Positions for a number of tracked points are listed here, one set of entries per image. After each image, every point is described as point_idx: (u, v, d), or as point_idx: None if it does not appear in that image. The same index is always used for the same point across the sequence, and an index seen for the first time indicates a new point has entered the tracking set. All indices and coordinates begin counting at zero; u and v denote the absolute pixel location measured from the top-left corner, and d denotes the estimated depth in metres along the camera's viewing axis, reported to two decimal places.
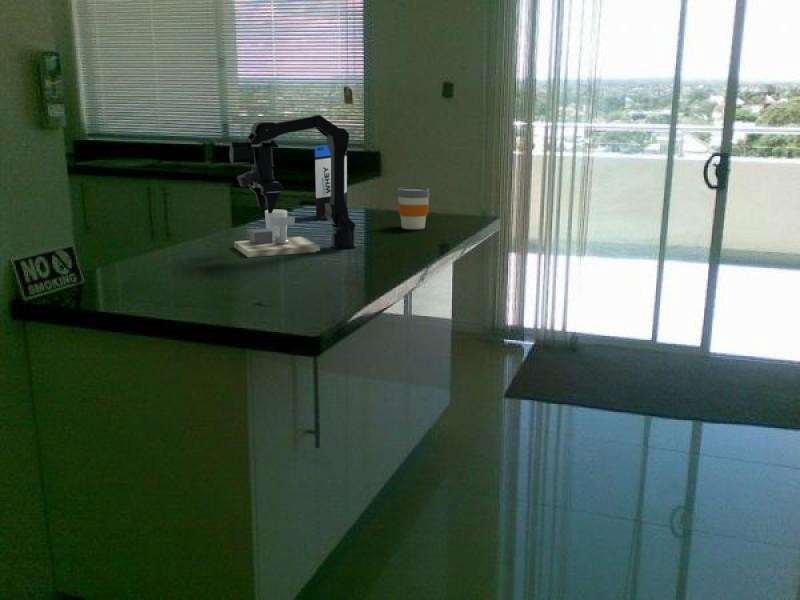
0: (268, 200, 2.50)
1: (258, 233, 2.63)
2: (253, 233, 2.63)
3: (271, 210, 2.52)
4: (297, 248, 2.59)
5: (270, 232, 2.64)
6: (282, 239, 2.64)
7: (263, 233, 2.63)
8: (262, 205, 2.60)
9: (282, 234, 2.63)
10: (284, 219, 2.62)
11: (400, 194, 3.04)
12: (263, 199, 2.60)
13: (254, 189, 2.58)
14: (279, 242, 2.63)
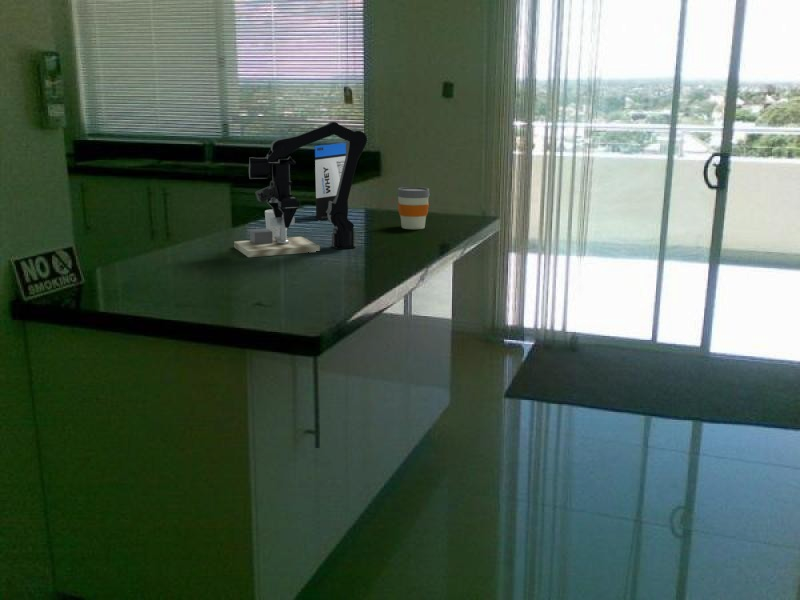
0: (285, 215, 2.57)
1: (258, 233, 2.63)
2: (253, 233, 2.63)
3: (288, 225, 2.59)
4: (297, 248, 2.59)
5: (270, 232, 2.64)
6: (282, 239, 2.64)
7: (263, 233, 2.63)
8: None
9: (282, 234, 2.63)
10: None
11: (400, 194, 3.04)
12: (280, 214, 2.67)
13: (271, 204, 2.65)
14: (279, 242, 2.63)
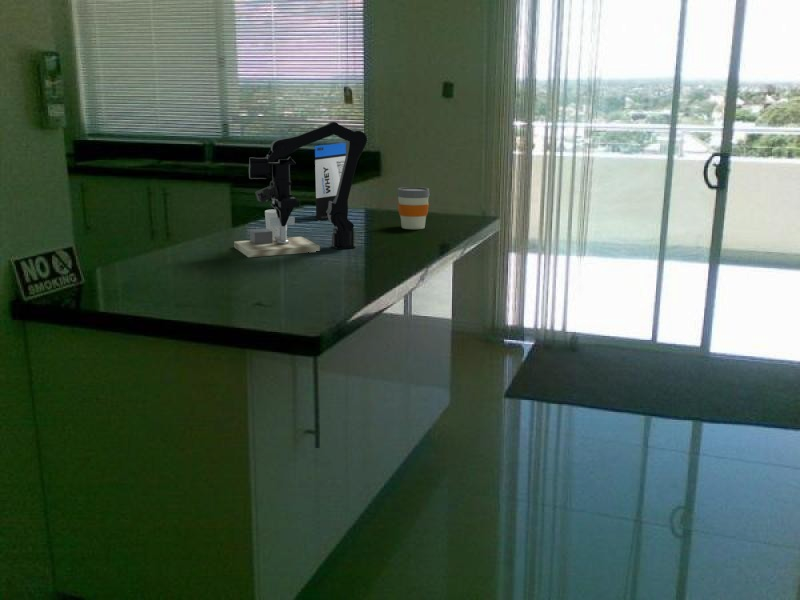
0: (282, 214, 2.60)
1: (258, 233, 2.63)
2: (253, 233, 2.63)
3: (284, 223, 2.62)
4: (297, 248, 2.59)
5: (270, 232, 2.64)
6: (282, 239, 2.64)
7: (263, 233, 2.63)
8: None
9: (282, 234, 2.63)
10: None
11: (400, 194, 3.04)
12: None
13: (274, 205, 2.62)
14: (279, 242, 2.63)
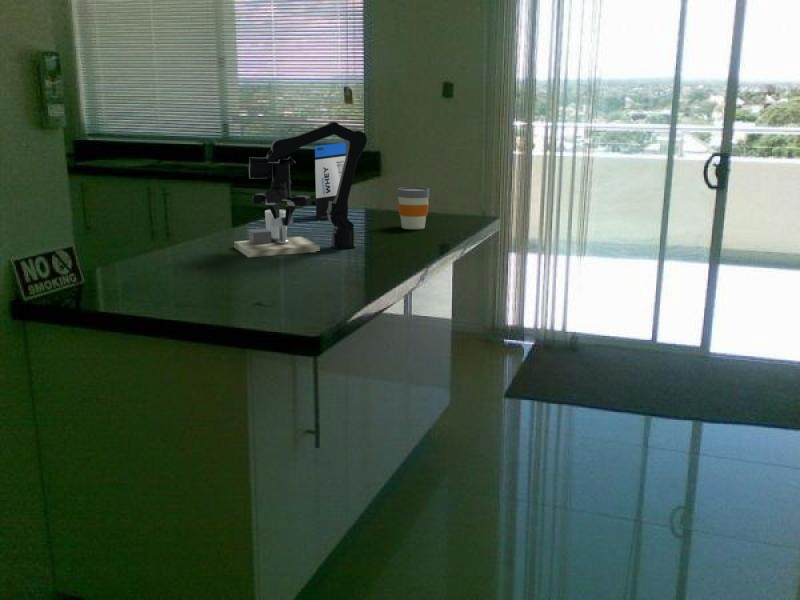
0: (289, 213, 2.61)
1: (257, 233, 2.62)
2: (252, 233, 2.63)
3: (288, 223, 2.63)
4: (297, 248, 2.59)
5: (269, 232, 2.64)
6: (283, 239, 2.64)
7: (262, 233, 2.63)
8: None
9: (283, 234, 2.63)
10: None
11: (400, 194, 3.04)
12: (278, 215, 2.64)
13: (273, 206, 2.60)
14: (281, 242, 2.63)
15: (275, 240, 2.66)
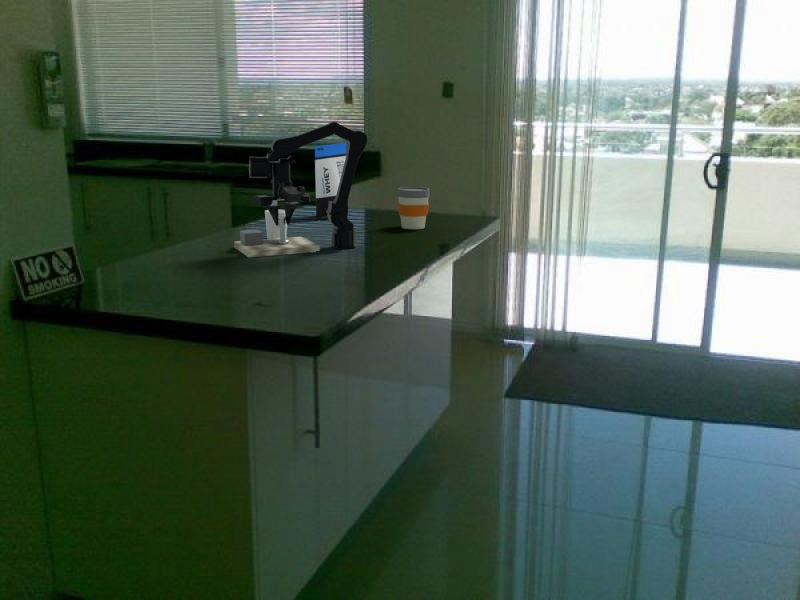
0: None
1: (248, 234, 2.60)
2: (243, 234, 2.61)
3: None
4: (297, 248, 2.59)
5: (260, 233, 2.62)
6: (285, 239, 2.64)
7: (253, 234, 2.61)
8: None
9: None
10: None
11: (400, 194, 3.04)
12: None
13: None
14: (286, 242, 2.63)
15: (273, 241, 2.64)
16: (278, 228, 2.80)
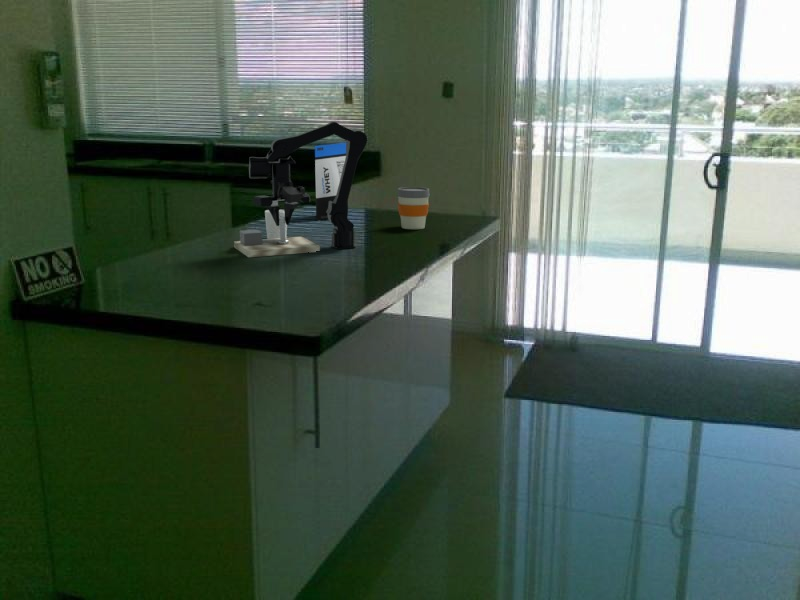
0: None
1: (248, 234, 2.60)
2: (243, 234, 2.61)
3: None
4: (297, 248, 2.59)
5: (260, 233, 2.62)
6: (285, 239, 2.64)
7: (253, 234, 2.61)
8: None
9: None
10: (284, 218, 2.63)
11: (400, 194, 3.04)
12: None
13: None
14: (286, 242, 2.63)
15: (274, 241, 2.64)
16: (278, 228, 2.80)
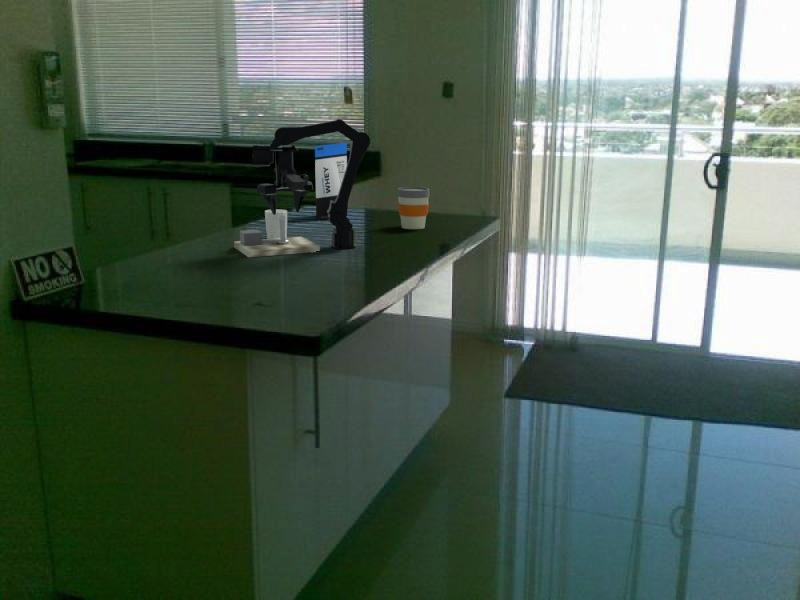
0: None
1: (248, 234, 2.60)
2: (243, 234, 2.61)
3: None
4: (297, 248, 2.59)
5: (260, 233, 2.62)
6: (285, 239, 2.64)
7: (253, 234, 2.61)
8: None
9: None
10: (284, 218, 2.63)
11: (400, 194, 3.04)
12: None
13: None
14: (286, 242, 2.63)
15: (274, 241, 2.64)
16: (278, 228, 2.80)
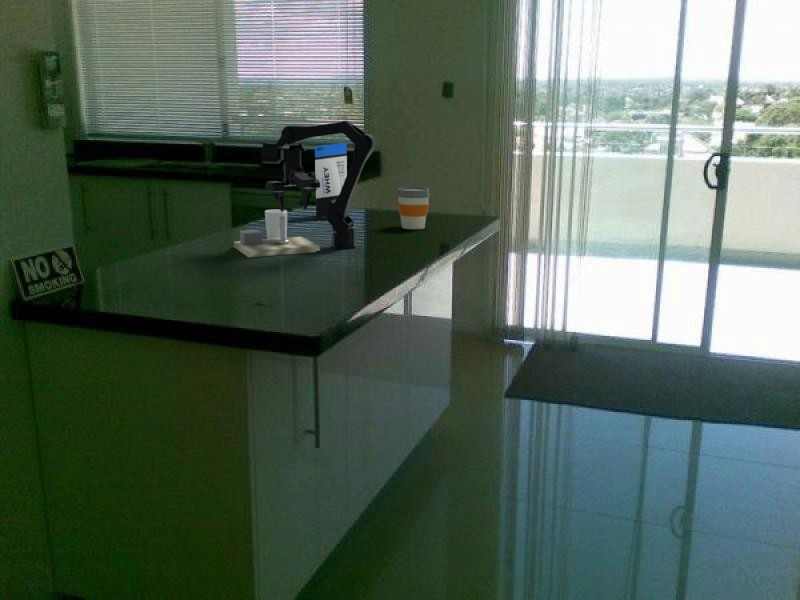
0: None
1: (248, 234, 2.60)
2: (243, 234, 2.61)
3: None
4: (297, 248, 2.59)
5: (260, 233, 2.62)
6: (285, 239, 2.64)
7: (253, 234, 2.61)
8: None
9: None
10: (284, 218, 2.63)
11: (400, 194, 3.04)
12: None
13: None
14: (286, 242, 2.63)
15: (274, 241, 2.64)
16: (278, 228, 2.80)
